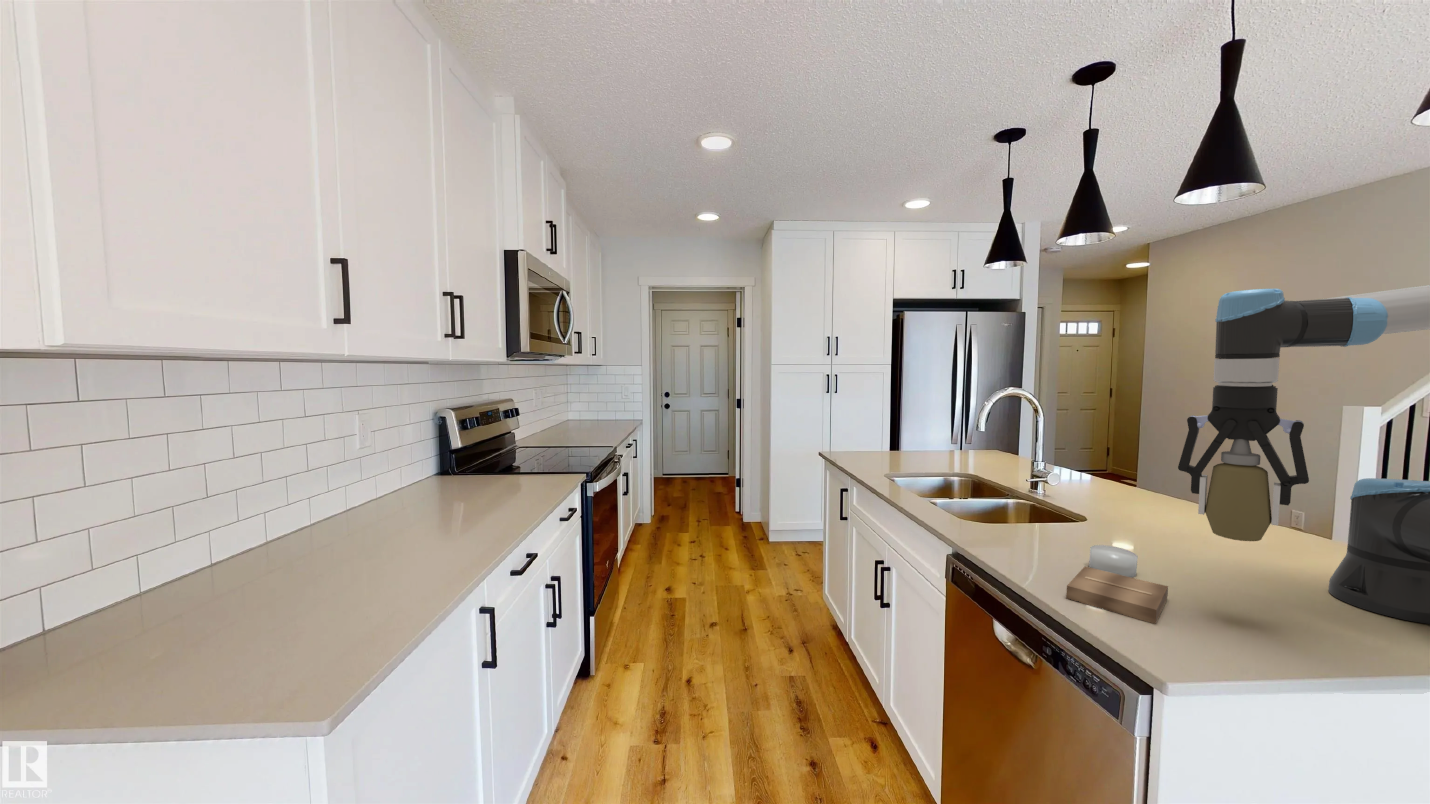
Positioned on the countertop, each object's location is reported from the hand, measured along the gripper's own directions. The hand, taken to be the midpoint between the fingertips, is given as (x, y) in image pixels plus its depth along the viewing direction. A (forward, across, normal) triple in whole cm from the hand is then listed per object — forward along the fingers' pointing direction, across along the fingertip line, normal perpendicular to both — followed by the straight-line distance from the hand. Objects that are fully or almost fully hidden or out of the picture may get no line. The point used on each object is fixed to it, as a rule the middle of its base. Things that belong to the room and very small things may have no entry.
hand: (1237, 517), depth 88 cm
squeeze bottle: (+4, 0, 0) cm, 4 cm away
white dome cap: (+18, +19, -11) cm, 28 cm away
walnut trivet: (+18, +15, +5) cm, 24 cm away
